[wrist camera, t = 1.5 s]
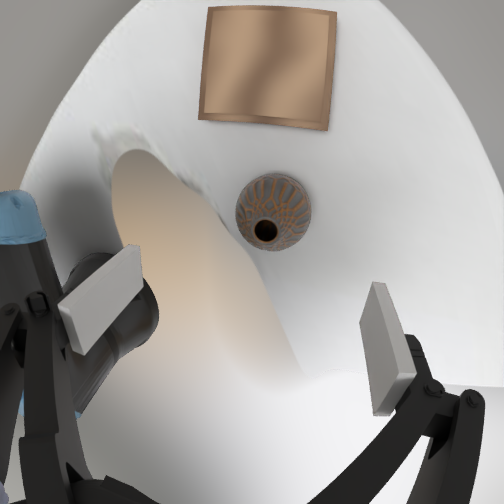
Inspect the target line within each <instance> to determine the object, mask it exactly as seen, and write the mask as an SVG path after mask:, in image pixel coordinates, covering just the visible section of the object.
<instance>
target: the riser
mask: <svg viewBox="0 0 504 504" xmlns="http://www.w3.org/2000/svg"><path fill="white" fill-rule="evenodd" d="M336 24H337V12H333V11H326V10H319V9H310V8H299V7H285V6H257V5H246V6H217V7H208V14H207V22H206V31H205V40H204V50H203V61H202V73H201V85H200V99H199V114H198V120H218V121H238V122H252V123H264V124H275V125H284V126H293V127H301V128H309V129H316V130H323V131H328V123H329V114H330V104H331V94H332V82H333V70H334V57H335V42H336Z"/></svg>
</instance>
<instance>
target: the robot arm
mask: <svg viewBox="0 0 504 504" xmlns="http://www.w3.org/2000/svg"><path fill="white" fill-rule="evenodd" d="M46 236H47V235H46V231H45V230H44V228H43V227H42V224H41V220H40V217H39V214H38V210H37V206H36V203H35V200H34V199H33V197H32V196H31V195H30V194H29V193H27V192H25V191H22V190H12V191H4V192H0V504H7V503H8V501H9V497H8V495H7V494H6V493H5V490H4V487H3V486H4V483H5V479H6V476H7V471H8V465H9V459H10V452H11V445H12V439H13V434H14V428H15V424H16V419H17V414H18V413H20V414H21V415H22V416H23V417H24V426H25V436H24V437H20V439H19V455H20V464H21V472H22V479H23V486H24V491H25V497H26V499H25V500H21V501H18V502H14V503H10V504H159V503H157V502H155V501H154V500H152V499H150V498H149V497H147V496H146V495H144V494H143V493H141V492H139V491H138V490H137V489H135V488H134V487H132V486H130V485H127V484H125V483H122V482H120V481H118V480H116V479H114V478H111V477H109V476H107V475H106V476H105V478H104V480H97V479H93V478H92V476H91V474H90V472H89V470H88V468H87V466H86V462H85V458H84V454H83V450H82V445H81V441H80V436H79V432H78V427H77V421H76V419H77V418H80V417H81V414H82V413H83V411H84V410H85V408H86V407H87V405H88V403H89V402H90V400H91V399H92V398H93V396H94V395H95V393H96V392H97V390H98V388H99V387H100V385H101V384H102V383H103V381H104V379H105V378H106V377H107V375H108V374H109V372H110V371H111V369H112V368H113V366H114V365H115V364H116V362H117V361H118V360H119V359H120V358H121V357H123V356H124V355H126V354H127V353H129V352H130V351H132V350H133V349H134V348H136V347H139V346H141V345H142V344H144V343H145V342H146V341H147V340H148V339H149V338H150V336H151V335H152V333H153V332H154V331H155V329H156V327H157V325H158V321H159V309H158V304H157V301H156V298H155V296H154V294H153V292H152V290H151V288H150V286H149V285H148V283H147V282H146V280H145V279H144V278H143V276H142V266H141V257H140V246H136V245H130V244H129V245H127V246H126V247H125V248H124V249H122V250H121V251H120V252H119V253H117V254H116V255H115V256H114V255H111V254H106V253H94V254H91V255H89V256H87V257H86V258H84V259H83V260H82V261H80V262H79V263H78V264H77V265H76V266H75V267H74V268H73V269H72V271H71V273H70V275H69V278H68V280H67V282H66V283H65V285H64V286H63V288H61V285H60V282H59V279H58V276H57V273H56V270H55V267H54V264H53V261H52V258H51V254H50V251H49V248H48V244H47V241H46ZM359 324H360V329H361V335H362V340H363V346H364V352H365V358H366V365H367V371H368V377H369V385H370V392H371V400H372V408H373V416H390V415H391V413H392V412H393V411H394V409H395V410H396V414H395V415H394V416H393V417H392V419H391V420H390V421H389V422H388V423H387V425H386V426H385V427H384V428H383V429H382V431H381V432H380V433H379V434H378V435H377V436H376V438H375V439H374V440H373V441H372V442H371V443H370V444H369V445H368V446H367V447H366V448H365V450H364V451H363V452H362V453H361V454H360V455H359V456H358V457H357V458H356V459H355V460H354V461H353V462H352V463H351V464H350V465H349V466H348V467H347V468H346V469H345V470H344V471H343V472H342V473H341V474H340V475H339V476H338V477H337V478H336V479H335V480H334V481H332V482H331V483H330V484H329V485H328V486H327V487H326V488H325V489H324V490H323V491H321V492H320V493H319V494H318V495H317V496H316V497H314V498H313V499H312V500H311V501H310V502H309V503H307V504H369V503H370V502H371V501H372V499H373V498H374V497H375V496H376V495H377V494H378V493H379V491H380V490H381V489H382V488H383V487H384V485H385V484H386V483H387V482H388V481H389V479H390V478H391V477H392V476H393V474H394V473H395V471H397V469H398V468H399V467H400V465H401V464H402V463H403V461H404V460H405V459H406V457H407V456H408V454H409V453H410V452H411V450H412V449H413V447H414V446H415V444H416V443H417V441H418V440H419V438H420V437H421V435H424V436H428V437H430V440H429V443H428V446H427V450H426V453H425V456H424V459H423V462H422V465H421V468H420V471H419V473H418V476H417V479H416V481H415V484H414V486H413V489H412V491H411V494H410V496H409V499H408V501H407V503H406V504H469V502H470V498H471V494H472V490H473V485H474V481H475V477H476V472H477V467H478V461H479V456H480V449H481V442H482V434H483V425H484V415H485V400H484V398H483V397H482V395H481V394H480V393H479V392H477V391H475V390H472V389H468V390H465V391H464V392H463V393H462V394H461V395H460V396H457V395H453V394H449V393H447V392H445V388H444V387H443V385H442V384H441V383H440V382H439V381H437V380H435V379H433V378H432V375H431V372H430V369H429V366H428V363H427V360H426V358H425V355H424V352H423V349H422V347H421V344H420V342H419V341H418V340H417V338H416V337H415V336H414V335H409V334H404V332H403V329H402V326H401V323H400V321H399V318H398V315H397V312H396V310H395V307H394V304H393V302H392V299H391V297H390V294H389V291H388V289H387V286H386V284H385V283H378V282H372V285H371V288H370V291H369V294H368V298H367V301H366V304H365V307H364V310H363V313H362V316H361V319H360V322H359Z"/></svg>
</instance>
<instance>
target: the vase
mask: <svg viewBox="0 0 504 504" xmlns="http://www.w3.org/2000/svg"><path fill="white" fill-rule="evenodd" d="M310 218H311V206H310V201H309V198H308V196H307V194H306V192H305V190H304V189H303V188H302V186H301V185H300V184H299V183H297V182H296V181H295V180H293V179H291V178H289V177H287V176H284V175H280V174H268V175H264V176H261V177H258V178H256V179H255V180H253V181H252V182H250V183H249V184H248V185H247V186H246V187H245V188H244V189H243V191H242V192H241V194H240V196H239V198H238V201H237V204H236V222H237V226H238V228H239V231H240V232H241V234H242V236H243V237H244V238H245V239H246V240H247V241H248V242H249V243H250V244H251V245H253V246H255V247H257V248H259V249H262V250H266V251H280V250H284V249H286V248H289V247H291V246H292V245H294V244H295V243H297V242H298V241H299V240H300V239H301V238H302V237H303V235H304V234H305V232H306V230H307V228H308V226H309V223H310Z"/></svg>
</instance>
